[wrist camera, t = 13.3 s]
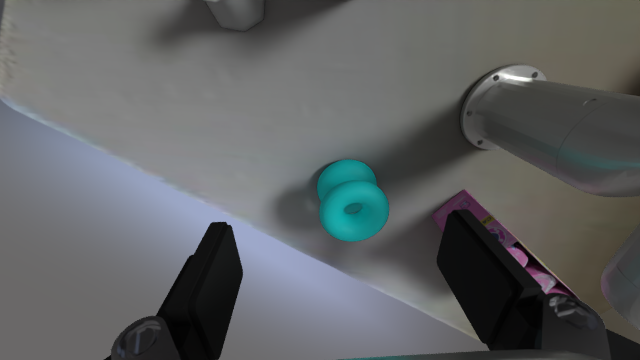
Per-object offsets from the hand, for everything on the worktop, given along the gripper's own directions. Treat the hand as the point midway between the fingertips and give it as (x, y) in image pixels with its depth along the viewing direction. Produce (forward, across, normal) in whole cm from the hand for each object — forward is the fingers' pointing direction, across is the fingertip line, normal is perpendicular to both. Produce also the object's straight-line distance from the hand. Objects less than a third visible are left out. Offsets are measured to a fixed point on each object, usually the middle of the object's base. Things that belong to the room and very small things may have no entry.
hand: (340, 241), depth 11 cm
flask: (+30, +10, -13) cm, 34 cm away
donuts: (+30, -4, +14) cm, 33 cm away
